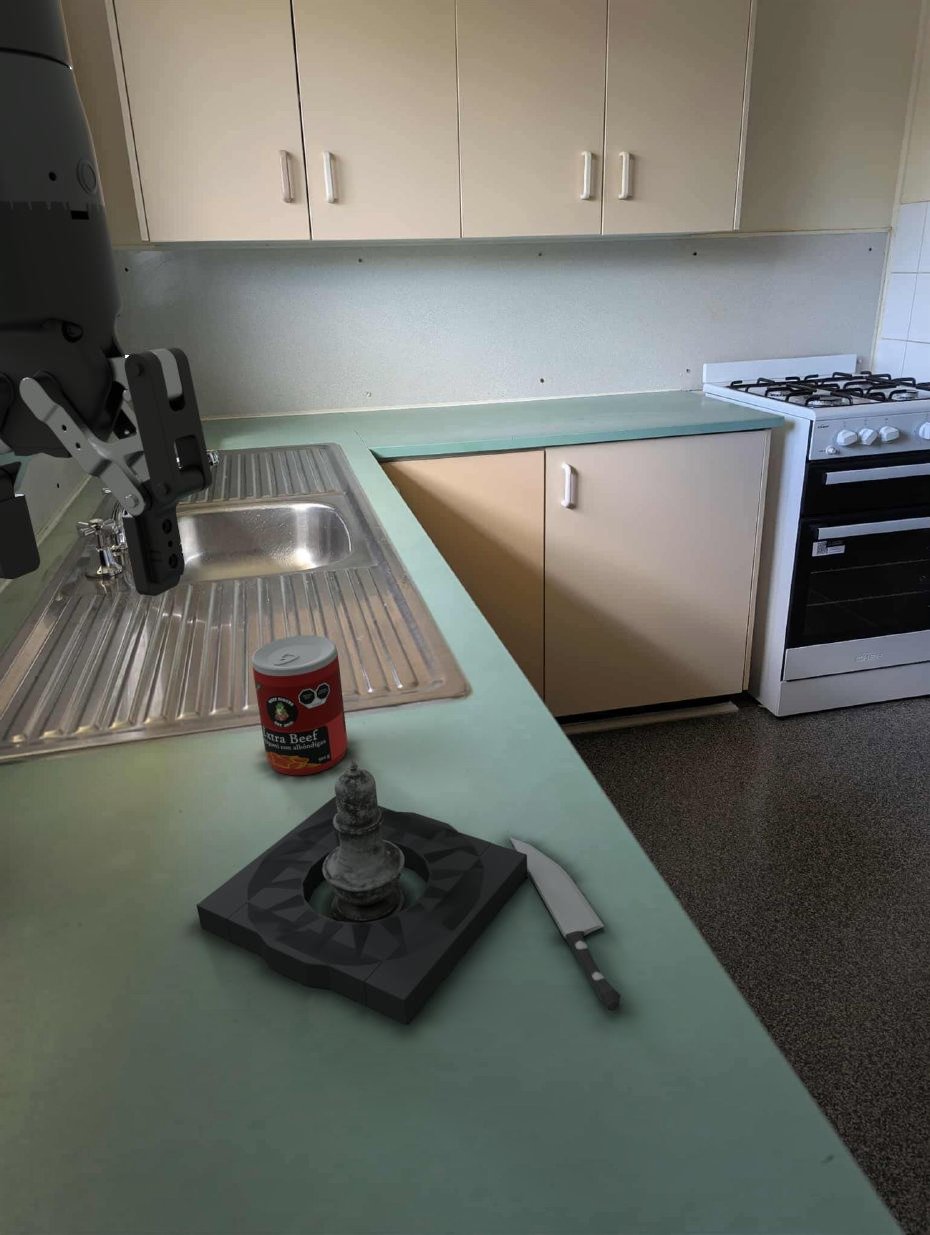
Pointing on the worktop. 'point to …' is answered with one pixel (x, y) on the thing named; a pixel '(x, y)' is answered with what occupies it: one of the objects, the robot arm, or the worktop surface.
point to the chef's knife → (568, 915)
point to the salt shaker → (362, 854)
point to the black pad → (377, 950)
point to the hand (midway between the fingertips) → (87, 582)
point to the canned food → (300, 703)
